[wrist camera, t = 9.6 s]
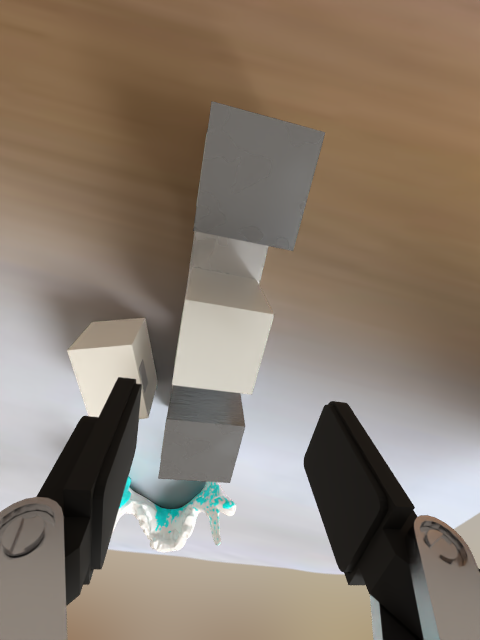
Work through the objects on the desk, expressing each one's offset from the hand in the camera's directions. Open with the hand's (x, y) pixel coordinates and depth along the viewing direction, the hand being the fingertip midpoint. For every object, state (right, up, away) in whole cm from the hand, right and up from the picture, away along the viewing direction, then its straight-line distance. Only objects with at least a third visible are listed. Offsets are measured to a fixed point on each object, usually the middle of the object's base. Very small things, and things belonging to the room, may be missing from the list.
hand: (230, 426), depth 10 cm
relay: (-9, +1, +14) cm, 16 cm away
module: (-1, +5, +11) cm, 12 cm away
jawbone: (-7, -13, +20) cm, 25 cm away
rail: (-1, +5, +12) cm, 14 cm away
